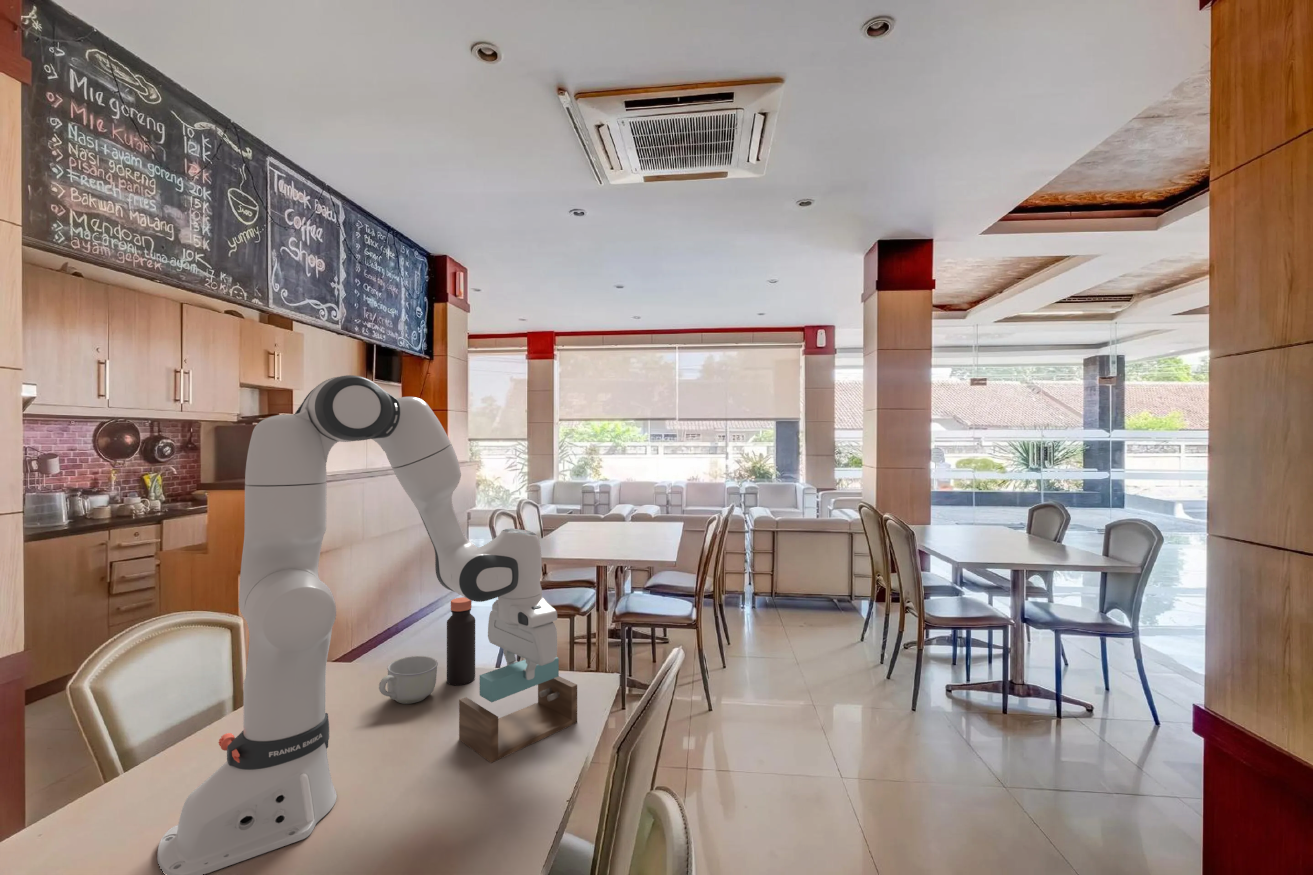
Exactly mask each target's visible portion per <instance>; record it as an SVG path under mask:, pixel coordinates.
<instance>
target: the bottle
mask: <svg viewBox="0 0 1313 875" xmlns="http://www.w3.org/2000/svg"><path fill="white" fill-rule="evenodd" d="M471 610H472V600H469V599H467V598H465V597H463V596H462V597H456V598H453V599H451V600H450V612H451V615H450V617H449V618H448V619H447V620H446V683H447V684H448V685H452V686H462V685H467V684H469V683H471V682H473V681H474V680H475V679H476V618H475V616H474V615H473V614H472V613H471Z"/></svg>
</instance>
